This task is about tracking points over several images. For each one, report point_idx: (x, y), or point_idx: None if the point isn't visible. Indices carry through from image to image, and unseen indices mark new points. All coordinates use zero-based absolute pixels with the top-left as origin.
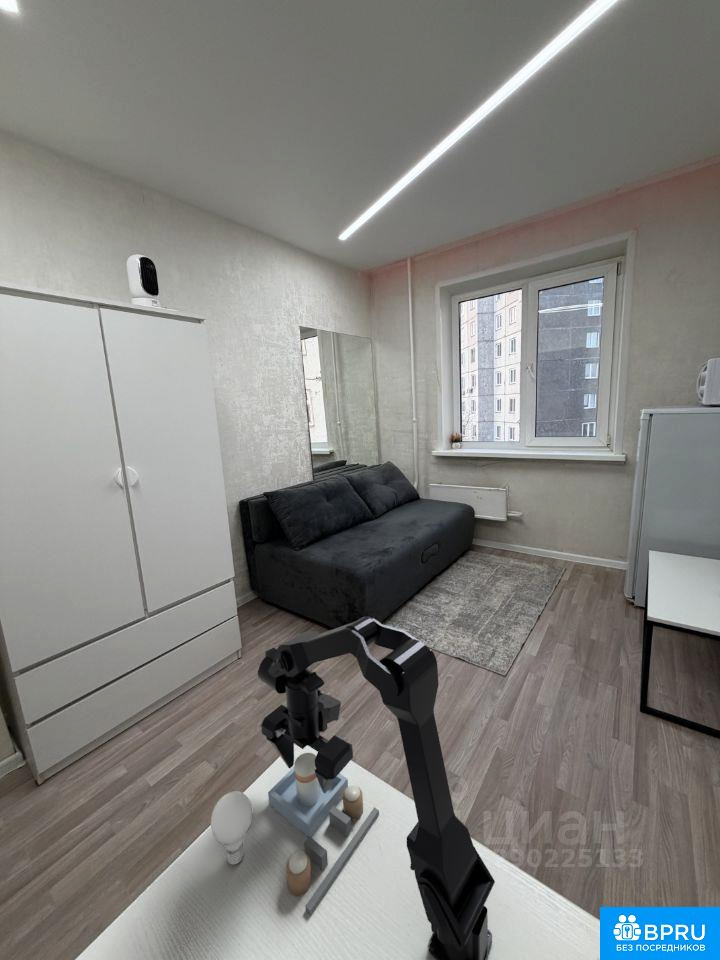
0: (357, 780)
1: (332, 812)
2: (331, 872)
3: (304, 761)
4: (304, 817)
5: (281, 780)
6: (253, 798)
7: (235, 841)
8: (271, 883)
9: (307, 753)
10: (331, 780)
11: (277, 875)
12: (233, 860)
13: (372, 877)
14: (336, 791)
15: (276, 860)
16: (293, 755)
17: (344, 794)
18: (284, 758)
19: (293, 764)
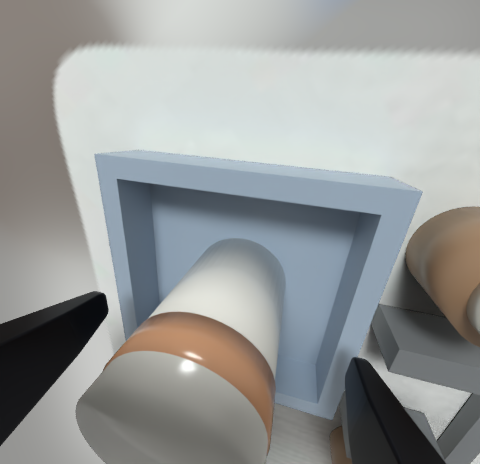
0: (425, 94)
1: (410, 374)
2: (461, 452)
3: (144, 453)
4: (298, 401)
5: (125, 314)
6: (111, 322)
7: None
8: (296, 447)
9: (101, 393)
10: (418, 428)
11: (298, 437)
12: None
13: None
14: (382, 287)
15: (275, 417)
16: (53, 327)
17: (462, 315)
18: (36, 402)
19: (102, 297)
